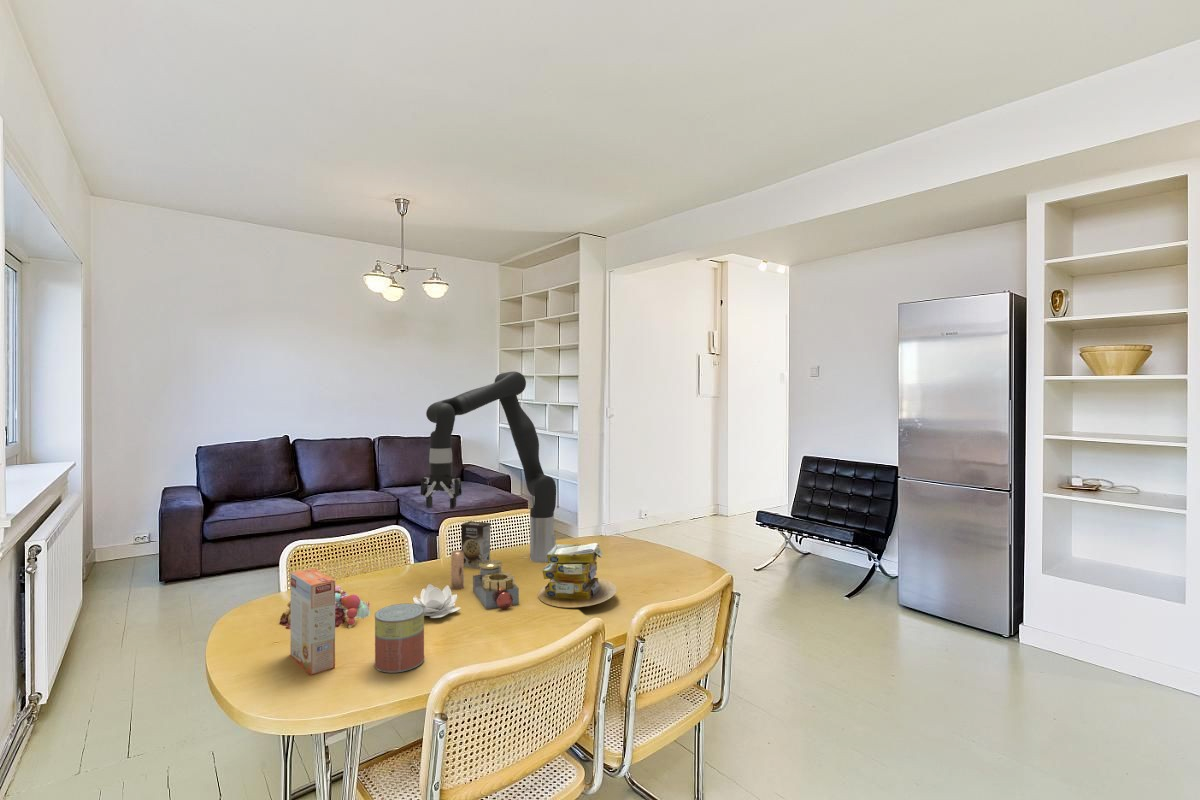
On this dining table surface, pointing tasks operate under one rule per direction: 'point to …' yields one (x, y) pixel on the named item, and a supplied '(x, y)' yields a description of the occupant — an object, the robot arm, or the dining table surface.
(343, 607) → the candy landscape model
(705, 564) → the dining table surface
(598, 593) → the stacked food boxes
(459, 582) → the copper pipe
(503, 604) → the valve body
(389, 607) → the canned food
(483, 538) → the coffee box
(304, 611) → the cracker box
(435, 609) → the lotus flower
